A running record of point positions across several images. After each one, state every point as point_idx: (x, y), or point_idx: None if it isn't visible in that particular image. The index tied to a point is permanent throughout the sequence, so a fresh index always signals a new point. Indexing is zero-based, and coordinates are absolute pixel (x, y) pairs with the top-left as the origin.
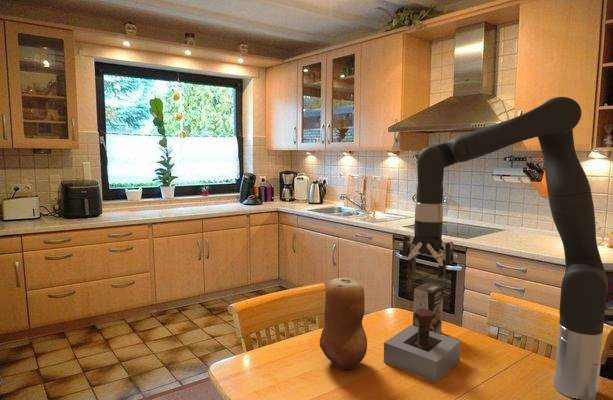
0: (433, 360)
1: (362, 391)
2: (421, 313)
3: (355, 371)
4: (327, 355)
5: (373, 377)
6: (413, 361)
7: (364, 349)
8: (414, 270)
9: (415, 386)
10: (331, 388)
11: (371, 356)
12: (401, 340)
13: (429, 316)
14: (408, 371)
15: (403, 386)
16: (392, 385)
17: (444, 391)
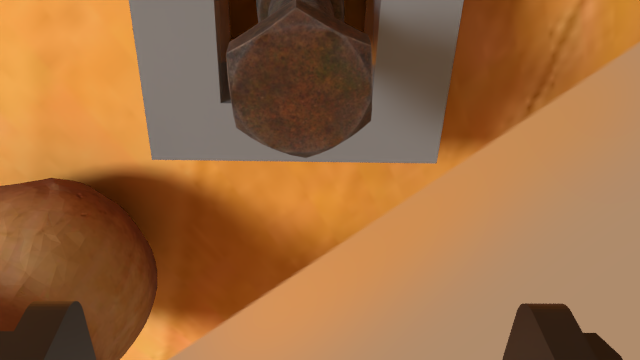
0: (419, 161)
1: (239, 295)
2: (293, 129)
3: (143, 230)
4: None
5: (216, 221)
6: None
7: (149, 282)
8: (77, 326)
9: (362, 179)
10: (161, 333)
11: (103, 105)
12: (202, 86)
13: (359, 128)
14: None
15: (327, 203)
16: (294, 220)
17: (461, 143)
